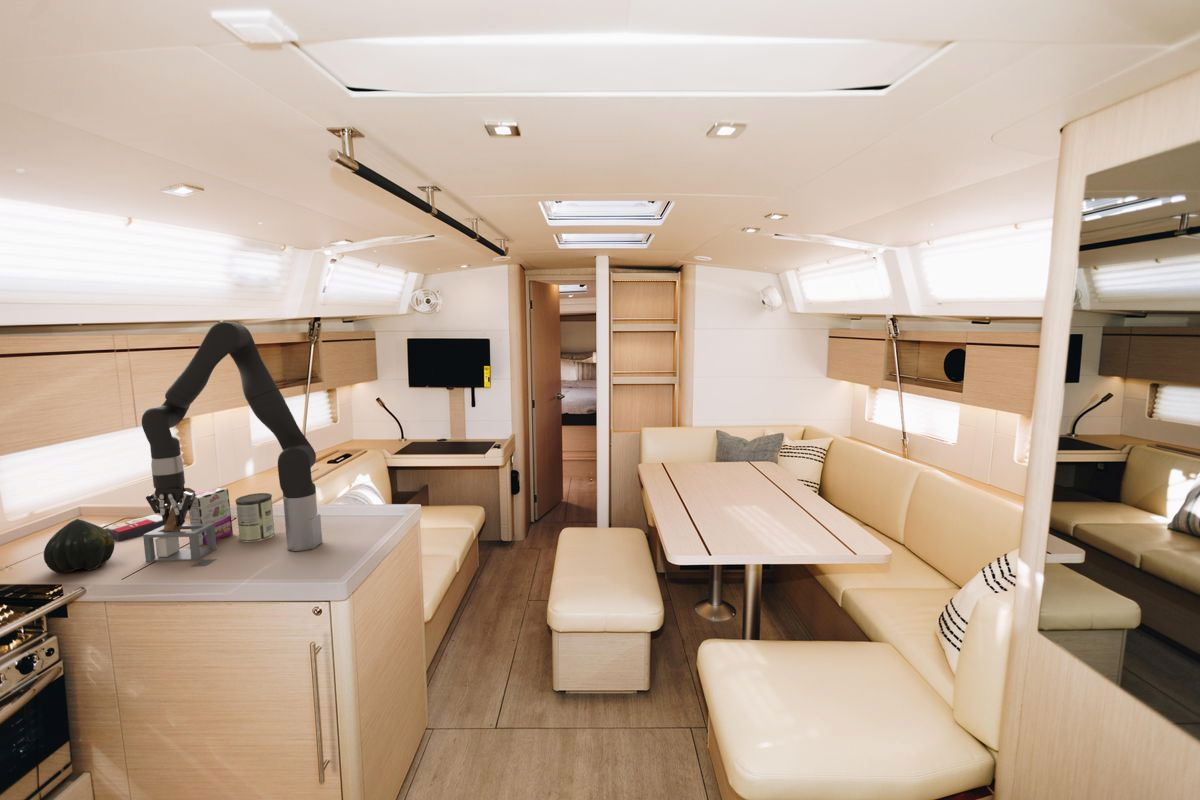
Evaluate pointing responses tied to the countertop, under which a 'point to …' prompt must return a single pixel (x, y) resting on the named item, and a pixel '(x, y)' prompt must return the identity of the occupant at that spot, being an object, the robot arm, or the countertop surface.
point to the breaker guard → (183, 553)
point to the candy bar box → (212, 513)
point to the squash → (78, 547)
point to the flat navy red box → (135, 527)
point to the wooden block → (171, 521)
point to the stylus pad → (204, 562)
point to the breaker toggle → (167, 546)
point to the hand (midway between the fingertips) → (174, 525)
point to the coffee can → (255, 517)
